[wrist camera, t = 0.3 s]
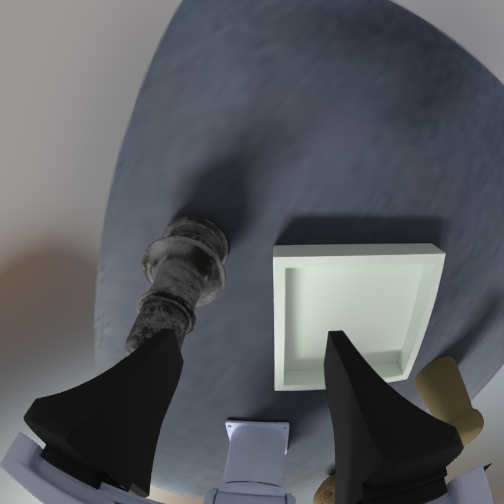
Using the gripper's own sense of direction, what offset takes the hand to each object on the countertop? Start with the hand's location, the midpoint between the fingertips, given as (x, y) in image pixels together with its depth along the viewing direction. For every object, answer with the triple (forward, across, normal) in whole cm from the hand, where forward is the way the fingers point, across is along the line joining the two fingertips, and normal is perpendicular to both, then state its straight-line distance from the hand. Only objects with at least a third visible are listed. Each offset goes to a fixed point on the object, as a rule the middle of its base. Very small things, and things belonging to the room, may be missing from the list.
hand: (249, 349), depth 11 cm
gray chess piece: (+10, +5, -1) cm, 12 cm away
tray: (+10, -8, +6) cm, 14 cm away
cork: (+10, -20, +16) cm, 28 cm away
